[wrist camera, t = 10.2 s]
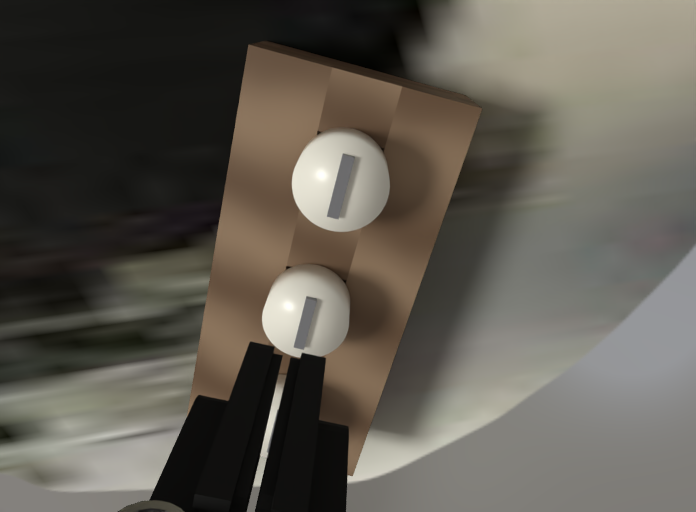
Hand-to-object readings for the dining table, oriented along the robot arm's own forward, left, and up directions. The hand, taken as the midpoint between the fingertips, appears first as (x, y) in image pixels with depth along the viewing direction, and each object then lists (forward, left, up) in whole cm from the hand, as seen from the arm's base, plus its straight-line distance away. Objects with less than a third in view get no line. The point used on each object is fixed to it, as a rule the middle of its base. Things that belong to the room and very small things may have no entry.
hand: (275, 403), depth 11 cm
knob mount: (+8, +1, -24) cm, 25 cm away
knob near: (0, +1, -22) cm, 22 cm away
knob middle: (+8, +1, -22) cm, 24 cm away
